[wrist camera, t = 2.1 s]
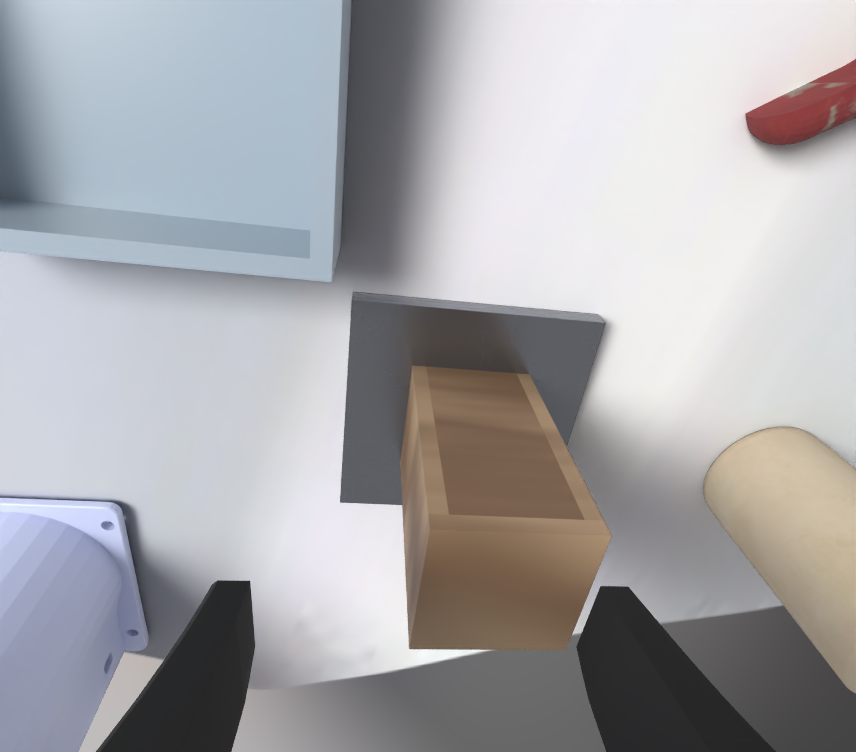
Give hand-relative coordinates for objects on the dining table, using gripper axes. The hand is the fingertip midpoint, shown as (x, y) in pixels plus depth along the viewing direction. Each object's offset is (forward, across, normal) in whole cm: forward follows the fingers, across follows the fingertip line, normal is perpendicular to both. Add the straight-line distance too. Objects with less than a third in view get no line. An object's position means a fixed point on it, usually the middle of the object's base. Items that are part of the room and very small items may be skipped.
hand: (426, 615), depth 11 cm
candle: (+11, -17, +4) cm, 20 cm away
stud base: (+10, -2, +2) cm, 11 cm away
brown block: (+10, -2, +2) cm, 10 cm away
